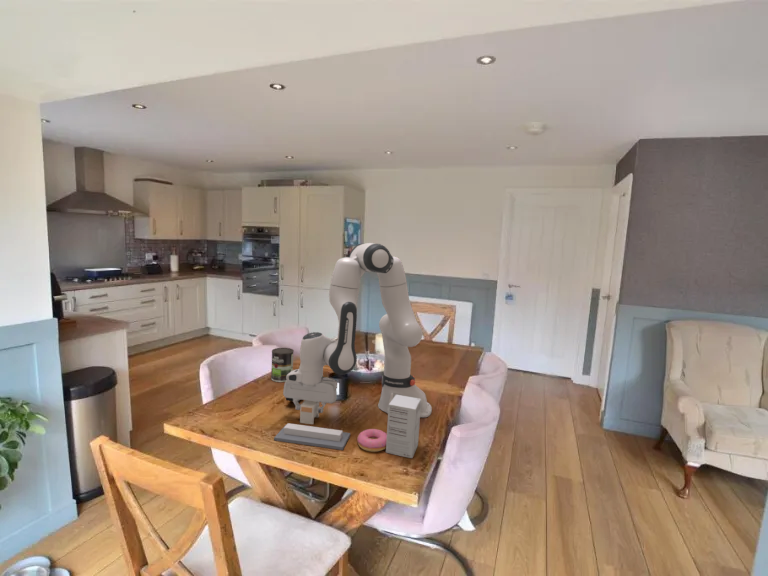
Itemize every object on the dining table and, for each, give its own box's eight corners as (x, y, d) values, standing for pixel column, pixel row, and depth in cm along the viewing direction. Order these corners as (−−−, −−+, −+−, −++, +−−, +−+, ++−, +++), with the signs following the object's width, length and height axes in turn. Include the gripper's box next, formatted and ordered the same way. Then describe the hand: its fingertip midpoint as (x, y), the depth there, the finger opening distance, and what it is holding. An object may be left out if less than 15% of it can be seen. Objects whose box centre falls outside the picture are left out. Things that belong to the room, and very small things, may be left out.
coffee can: (284, 383, 184) (285, 354, 182) (266, 379, 188) (267, 351, 186) (297, 377, 193) (298, 349, 192) (279, 373, 197) (280, 346, 195)
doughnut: (350, 446, 131) (350, 434, 131) (369, 434, 140) (370, 423, 140) (377, 457, 125) (377, 445, 125) (395, 444, 134) (395, 432, 134)
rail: (350, 435, 138) (350, 427, 138) (342, 450, 128) (343, 440, 128) (286, 426, 142) (286, 418, 141) (274, 440, 132) (274, 431, 132)
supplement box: (392, 439, 137) (395, 393, 135) (418, 444, 134) (421, 398, 133) (385, 453, 128) (387, 404, 126) (412, 459, 125) (415, 409, 123)
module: (318, 416, 152) (319, 399, 151) (312, 424, 145) (313, 406, 144) (306, 414, 153) (307, 397, 152) (299, 423, 145) (300, 405, 145)
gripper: (339, 376, 148) (338, 411, 150) (289, 370, 151) (287, 404, 153) (335, 381, 142) (333, 418, 144) (282, 375, 145) (280, 410, 147)
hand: (309, 410), depth 148 cm, fingers open, 8 cm apart
